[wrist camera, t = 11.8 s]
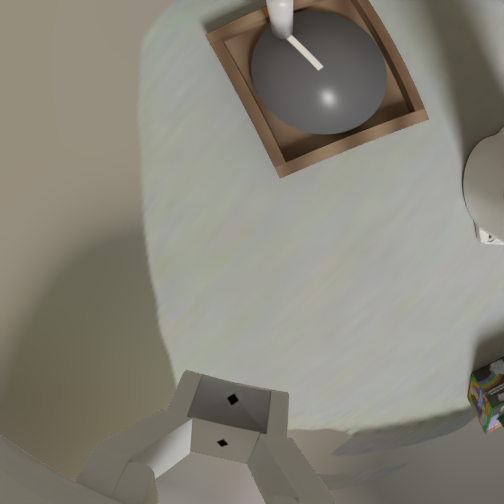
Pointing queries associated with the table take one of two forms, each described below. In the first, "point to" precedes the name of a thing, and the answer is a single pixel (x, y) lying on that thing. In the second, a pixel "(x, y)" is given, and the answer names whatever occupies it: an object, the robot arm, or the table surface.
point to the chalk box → (488, 395)
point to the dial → (317, 70)
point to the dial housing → (299, 142)
